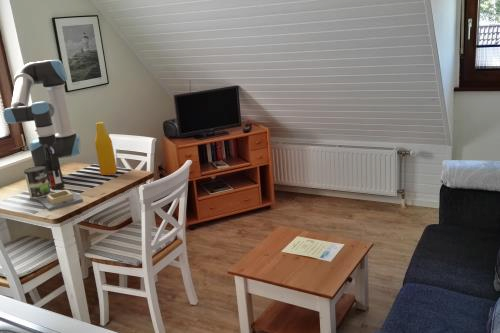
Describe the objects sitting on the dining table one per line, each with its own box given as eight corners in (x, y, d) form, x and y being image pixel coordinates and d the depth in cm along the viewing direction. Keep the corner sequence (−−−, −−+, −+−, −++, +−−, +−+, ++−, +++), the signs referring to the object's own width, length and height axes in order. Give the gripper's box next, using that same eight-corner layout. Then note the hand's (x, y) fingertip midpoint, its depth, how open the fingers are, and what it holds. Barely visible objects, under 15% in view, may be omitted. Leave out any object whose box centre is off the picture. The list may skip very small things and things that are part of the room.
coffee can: (55, 192, 266) (49, 166, 262) (38, 199, 258) (32, 172, 254) (42, 190, 272) (36, 165, 268) (25, 197, 264) (19, 171, 260)
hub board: (39, 201, 255) (38, 194, 254) (72, 192, 263) (70, 186, 262) (48, 210, 240) (47, 203, 239) (82, 201, 248) (81, 193, 247)
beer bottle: (117, 169, 296) (107, 120, 288) (117, 174, 288) (108, 123, 279) (100, 172, 294) (90, 122, 286) (100, 177, 286) (90, 125, 277)
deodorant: (66, 187, 249) (60, 157, 245) (55, 191, 245) (48, 160, 241) (60, 185, 253) (54, 156, 249) (49, 189, 249) (42, 159, 245)
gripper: (33, 134, 248) (43, 179, 254) (42, 139, 232) (53, 187, 239) (49, 130, 252) (59, 176, 258) (59, 135, 236) (70, 183, 243)
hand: (56, 181), depth 248 cm, fingers closed on deodorant, 6 cm apart
